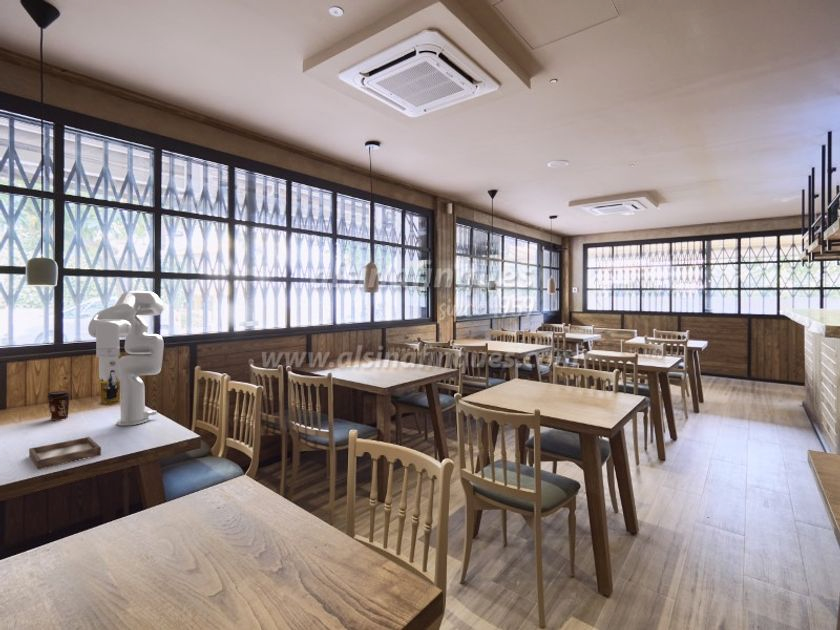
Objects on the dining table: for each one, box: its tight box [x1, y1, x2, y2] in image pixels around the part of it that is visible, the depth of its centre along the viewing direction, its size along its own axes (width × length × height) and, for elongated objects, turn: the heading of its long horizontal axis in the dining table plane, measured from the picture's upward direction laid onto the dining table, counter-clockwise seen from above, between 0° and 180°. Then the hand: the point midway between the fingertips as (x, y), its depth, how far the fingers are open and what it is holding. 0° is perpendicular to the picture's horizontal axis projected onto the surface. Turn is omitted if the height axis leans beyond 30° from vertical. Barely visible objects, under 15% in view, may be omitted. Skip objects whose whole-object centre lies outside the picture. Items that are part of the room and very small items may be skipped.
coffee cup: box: [47, 390, 71, 421], centre depth 204 cm, size 9×8×13 cm
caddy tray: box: [28, 436, 102, 470], centre depth 160 cm, size 18×17×3 cm
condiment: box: [92, 378, 124, 407], centre depth 172 cm, size 7×8×12 cm
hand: (108, 396), depth 171 cm, fingers closed on condiment, 6 cm apart
